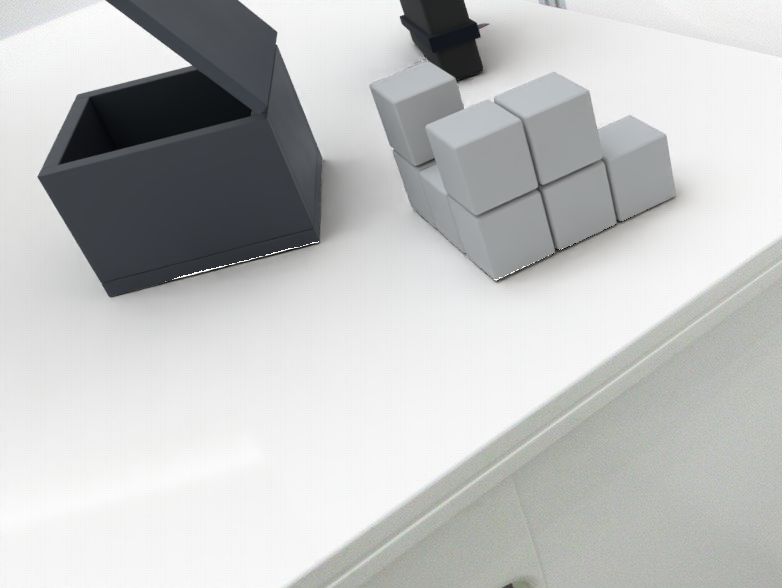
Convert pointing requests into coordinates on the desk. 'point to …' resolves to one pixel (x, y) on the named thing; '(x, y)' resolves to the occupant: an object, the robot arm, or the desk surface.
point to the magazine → (444, 34)
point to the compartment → (183, 177)
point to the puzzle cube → (517, 164)
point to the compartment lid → (213, 41)
